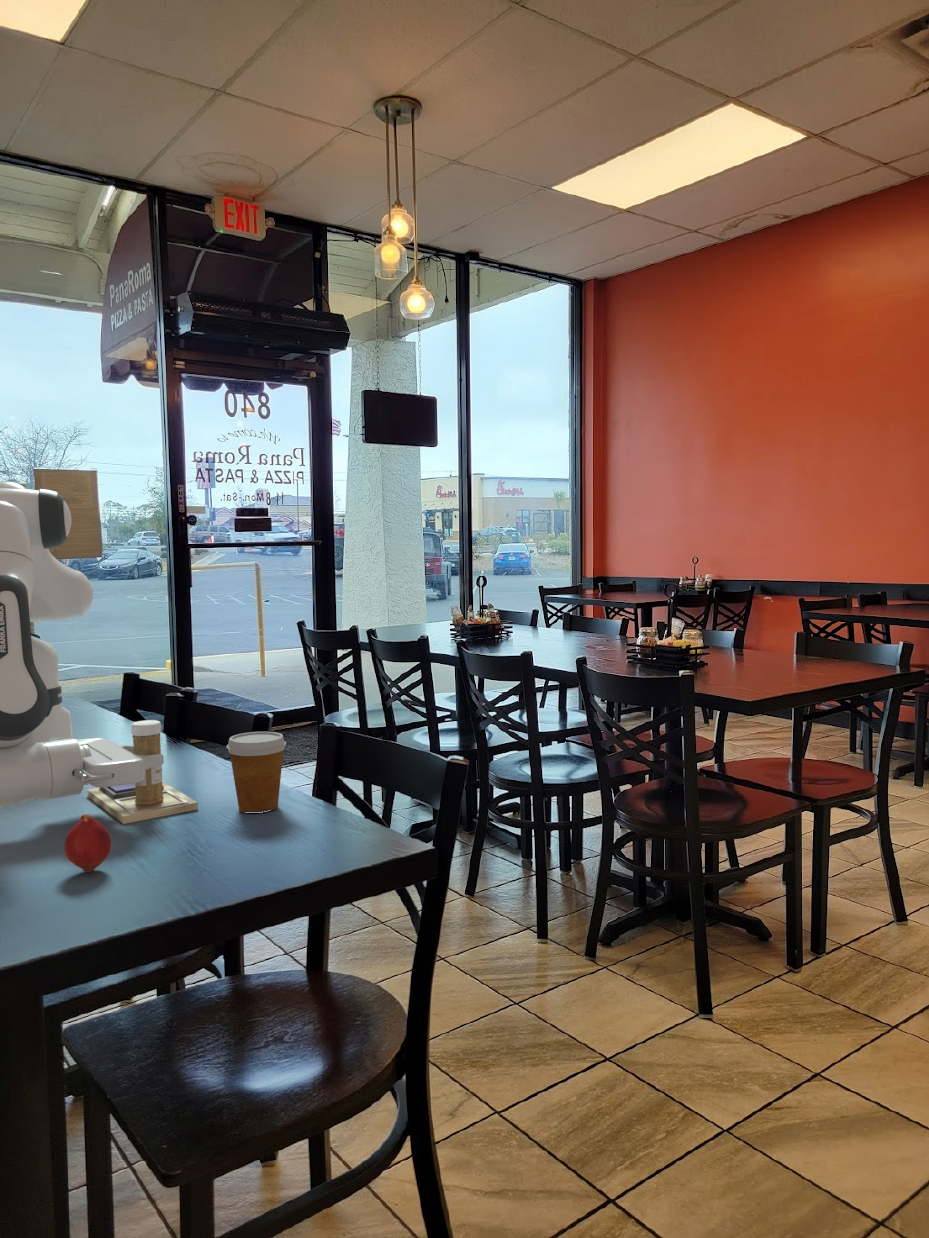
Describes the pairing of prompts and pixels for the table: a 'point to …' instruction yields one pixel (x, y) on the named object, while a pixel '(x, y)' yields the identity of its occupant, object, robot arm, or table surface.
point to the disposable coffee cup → (257, 769)
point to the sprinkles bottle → (143, 745)
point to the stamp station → (127, 811)
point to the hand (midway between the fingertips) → (154, 754)
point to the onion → (87, 843)
